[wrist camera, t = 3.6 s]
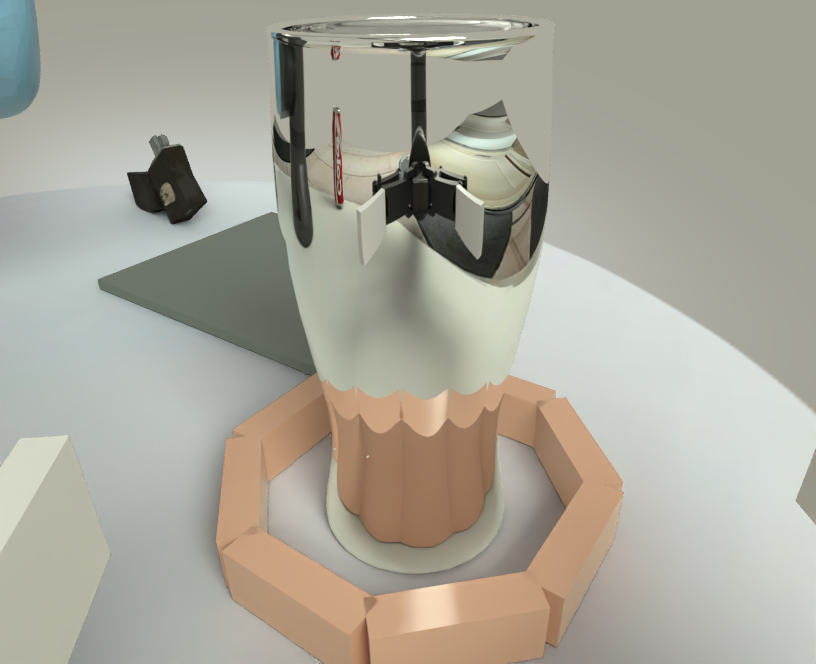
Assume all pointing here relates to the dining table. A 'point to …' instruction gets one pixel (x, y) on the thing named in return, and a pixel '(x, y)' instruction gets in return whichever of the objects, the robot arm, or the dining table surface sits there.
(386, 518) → the beer glass
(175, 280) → the mat
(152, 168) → the lighter
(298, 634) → the coaster ring
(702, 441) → the dining table surface
